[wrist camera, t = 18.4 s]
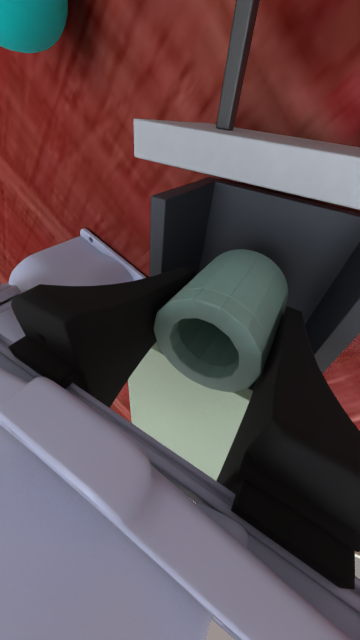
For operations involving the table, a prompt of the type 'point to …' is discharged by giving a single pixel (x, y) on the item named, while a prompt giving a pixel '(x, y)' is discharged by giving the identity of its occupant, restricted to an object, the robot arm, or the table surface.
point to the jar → (224, 321)
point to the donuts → (31, 24)
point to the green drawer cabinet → (185, 412)
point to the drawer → (262, 204)
